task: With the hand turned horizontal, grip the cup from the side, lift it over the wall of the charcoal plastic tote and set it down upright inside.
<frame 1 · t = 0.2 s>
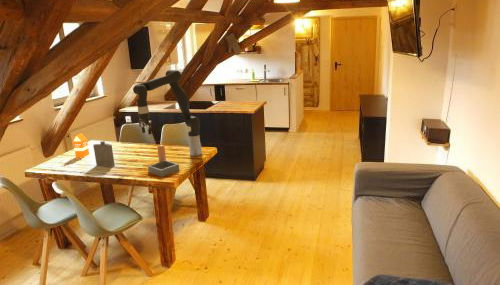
hand: (147, 133, 272), 29 cm above the table, tool pointing down, fingers open, 8 cm apart
orange juice: (82, 156, 322), on the table
hip flask: (106, 165, 295), on the table
tote: (164, 171, 276), on the table
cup: (162, 163, 293), on the table
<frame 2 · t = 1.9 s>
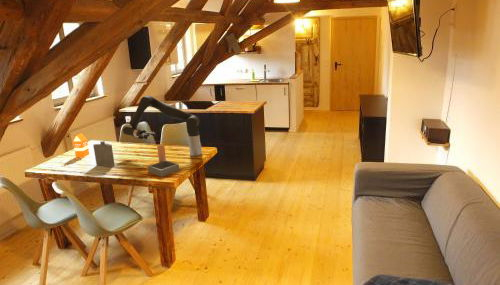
hand: (151, 136, 294), 21 cm above the table, tool horizontal, fingers open, 8 cm apart
nothing on the table moved.
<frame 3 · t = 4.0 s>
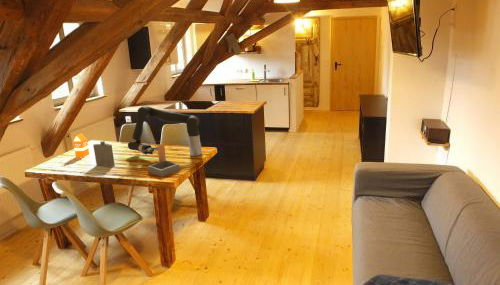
hand: (156, 151, 294), 9 cm above the table, tool horizontal, fingers open, 8 cm apart
nothing on the table moved.
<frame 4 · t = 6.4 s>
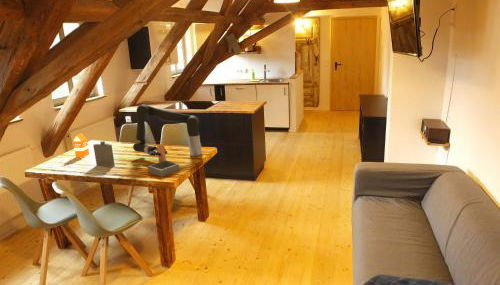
hand: (163, 153, 289), 9 cm above the table, tool horizontal, fingers closed on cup, 5 cm apart
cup: (162, 163, 293), on the table, touching gripper
everything else where it was.
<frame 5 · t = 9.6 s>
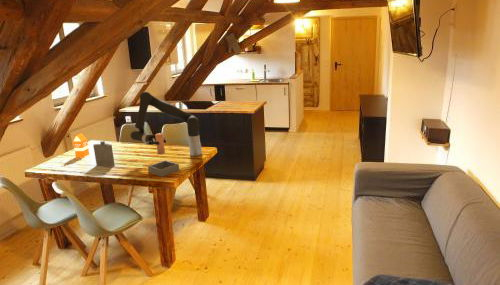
hand: (162, 142, 272), 22 cm above the table, tool horizontal, fingers closed on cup, 5 cm apart
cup: (161, 153, 277), point 13 cm above the table, touching gripper
everything else where it was.
when the fingers open (11 cm above the table, at t = 13.1 s): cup drops 1 cm, resting on tote.
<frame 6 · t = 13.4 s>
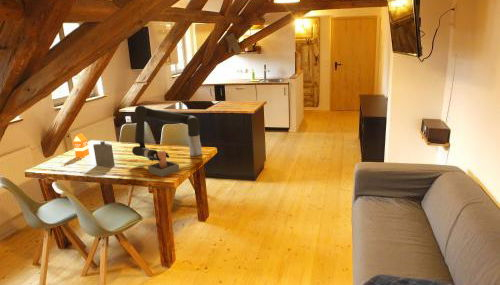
hand: (164, 157, 272), 11 cm above the table, tool horizontal, fingers open, 8 cm apart
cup: (163, 170, 276), point 1 cm above the table, touching tote
everything else where it was.
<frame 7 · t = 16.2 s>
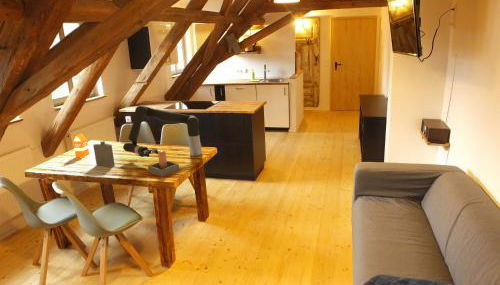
hand: (153, 154, 280), 12 cm above the table, tool horizontal, fingers open, 8 cm apart
nothing on the table moved.
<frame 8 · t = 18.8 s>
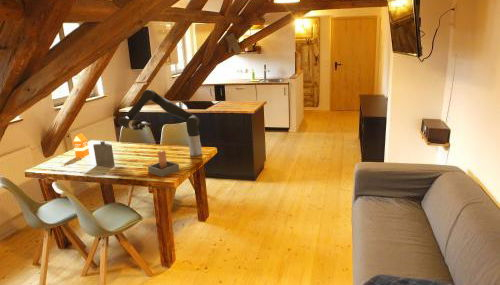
hand: (147, 127, 286), 30 cm above the table, tool horizontal, fingers open, 8 cm apart
nothing on the table moved.
at the end: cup inside the target area on the tote (0.1 cm from its centre), point 0.5 cm above the tote's base; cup tilted 0°; the gripper is holding nothing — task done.
